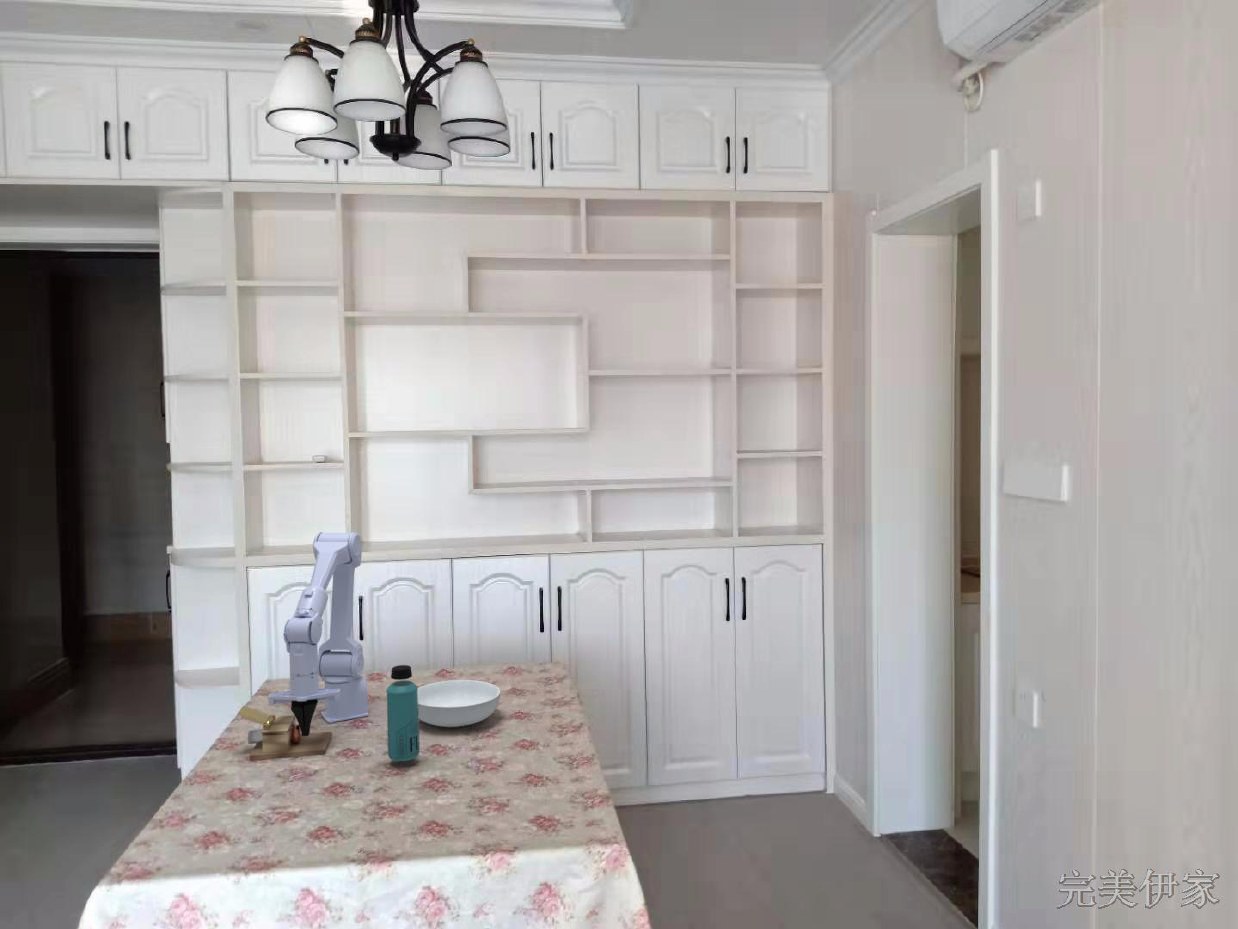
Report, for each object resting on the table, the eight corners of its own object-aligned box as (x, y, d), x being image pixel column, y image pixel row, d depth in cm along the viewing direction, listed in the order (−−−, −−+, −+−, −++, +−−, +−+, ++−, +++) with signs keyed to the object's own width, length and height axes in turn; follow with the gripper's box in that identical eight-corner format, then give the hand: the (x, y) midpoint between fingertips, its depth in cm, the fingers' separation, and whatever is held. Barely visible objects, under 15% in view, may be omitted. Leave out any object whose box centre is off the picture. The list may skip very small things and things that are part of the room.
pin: (301, 739, 188) (300, 721, 188) (298, 745, 184) (297, 728, 184) (251, 742, 186) (251, 725, 186) (247, 749, 182) (247, 731, 182)
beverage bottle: (412, 770, 174) (409, 672, 173) (381, 767, 175) (379, 670, 174) (425, 757, 180) (423, 663, 179) (396, 755, 181) (393, 661, 180)
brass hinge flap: (272, 721, 187) (274, 717, 187) (268, 728, 183) (270, 723, 183) (241, 708, 186) (243, 704, 186) (236, 715, 181) (238, 711, 181)
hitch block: (331, 736, 193) (331, 707, 193) (325, 754, 182) (324, 724, 182) (260, 741, 190) (259, 712, 190) (249, 760, 179) (248, 729, 179)
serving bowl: (493, 737, 191) (492, 706, 191) (399, 737, 192) (398, 707, 192) (507, 706, 212) (506, 678, 212) (422, 706, 213) (422, 679, 212)
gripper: (264, 680, 180) (266, 743, 181) (336, 675, 183) (338, 738, 184) (271, 670, 187) (273, 732, 188) (340, 666, 190) (342, 726, 191)
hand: (305, 734), depth 186 cm, fingers closed
